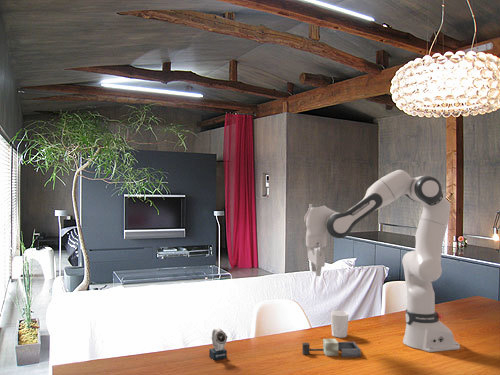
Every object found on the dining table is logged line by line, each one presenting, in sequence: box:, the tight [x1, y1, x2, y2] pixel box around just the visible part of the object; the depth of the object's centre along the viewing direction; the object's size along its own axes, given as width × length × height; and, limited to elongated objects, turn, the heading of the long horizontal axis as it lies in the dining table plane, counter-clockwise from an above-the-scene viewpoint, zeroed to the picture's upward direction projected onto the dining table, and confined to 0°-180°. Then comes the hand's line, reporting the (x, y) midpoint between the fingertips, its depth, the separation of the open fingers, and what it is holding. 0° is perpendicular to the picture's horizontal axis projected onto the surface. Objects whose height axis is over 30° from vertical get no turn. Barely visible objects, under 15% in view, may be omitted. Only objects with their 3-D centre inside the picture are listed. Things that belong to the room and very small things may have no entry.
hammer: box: [301, 338, 339, 357], centre depth 174 cm, size 14×5×5 cm, turn 93°
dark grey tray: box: [337, 341, 362, 358], centre depth 174 cm, size 8×9×3 cm
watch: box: [208, 328, 228, 361], centre depth 169 cm, size 6×8×11 cm
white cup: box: [330, 310, 349, 339], centre depth 195 cm, size 8×8×10 cm
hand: (315, 273), depth 189 cm, fingers open, 8 cm apart
